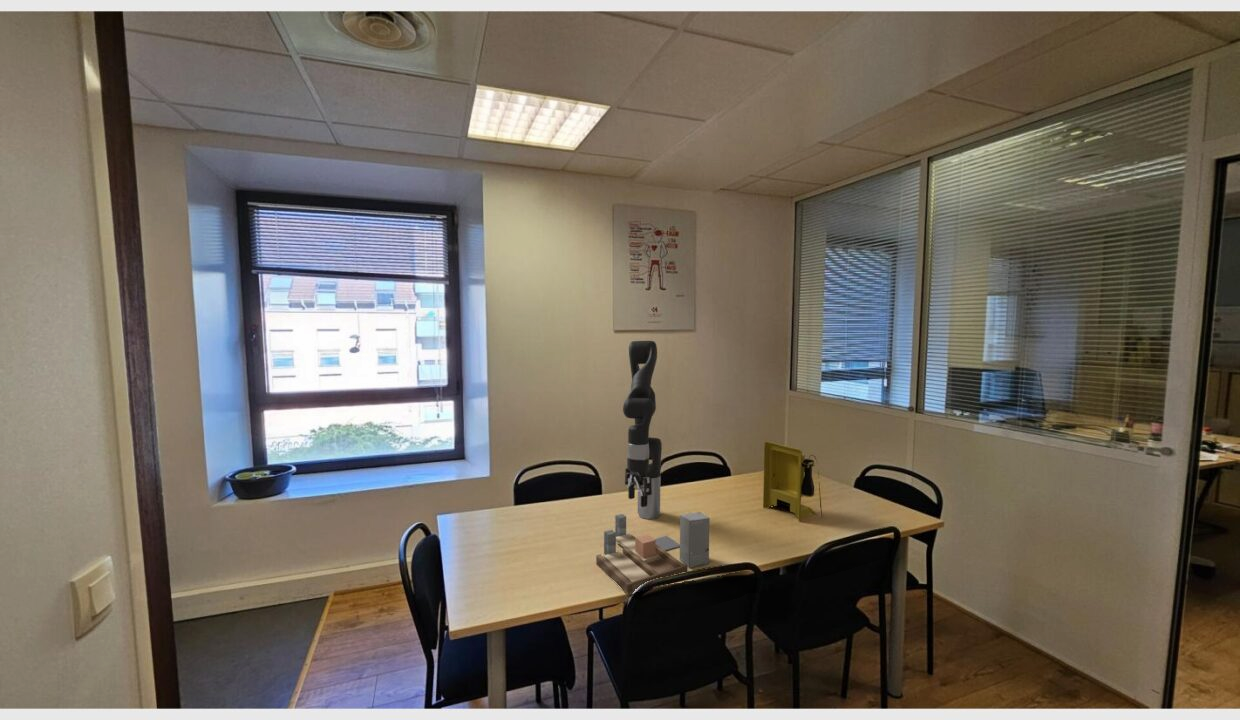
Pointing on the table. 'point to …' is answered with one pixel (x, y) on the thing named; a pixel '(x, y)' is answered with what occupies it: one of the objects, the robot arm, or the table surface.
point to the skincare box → (694, 539)
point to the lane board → (643, 568)
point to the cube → (645, 546)
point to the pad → (666, 543)
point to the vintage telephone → (787, 478)
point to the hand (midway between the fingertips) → (637, 502)
